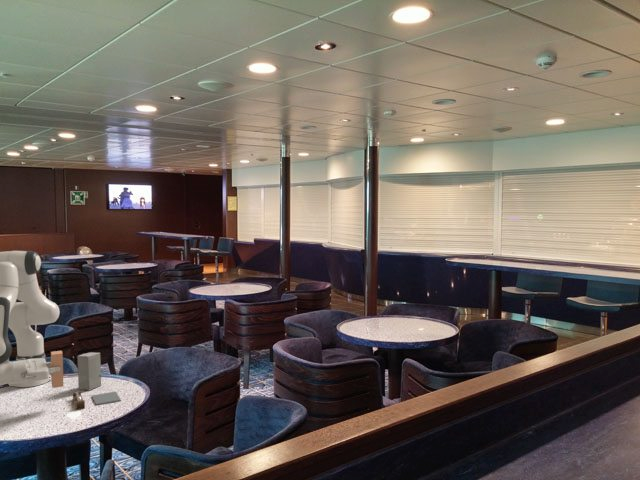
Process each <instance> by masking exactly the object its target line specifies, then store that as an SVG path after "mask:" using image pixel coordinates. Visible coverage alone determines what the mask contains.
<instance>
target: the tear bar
mask: <svg viewBox="0 0 640 480" xmlns="http://www.w3.org/2000/svg"><path fill="white" fill-rule="evenodd" d="M72 400H73V403H74V406H75V409H76V410H83V409H85V406H86V405H85V403H86V402H85V400H84V399H83V397H82V392H81V390H80V391H74V392H72Z"/></svg>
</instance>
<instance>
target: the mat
mask: <svg viewBox="0 0 640 480" xmlns="http://www.w3.org/2000/svg"><path fill="white" fill-rule="evenodd" d="M91 398H92V400H93V403H94V404H95V406H99V405H100V406H101V405H106V404H111V403H117V402H121V398H120V396H119V395H118V393H117V391H111V392H110V391H109V392H105V393H99V394H93V395H91Z"/></svg>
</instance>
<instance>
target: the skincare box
mask: <svg viewBox="0 0 640 480" xmlns="http://www.w3.org/2000/svg"><path fill="white" fill-rule="evenodd" d="M76 357H77V358H76V359H77V377H78V381H77V382H78V383H77V384H78V390H84V391H91V390H93V389H95V388H98V387H100V386H102V368H101V367H102V366H101V352H94V351H93V352H92V351H91V352H87V353H82V354H79V355H77V356H76Z"/></svg>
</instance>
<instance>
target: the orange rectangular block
mask: <svg viewBox="0 0 640 480" xmlns="http://www.w3.org/2000/svg"><path fill="white" fill-rule="evenodd" d="M63 356H64V355H63V351H62V350H57V351H56V350H53V351H50V362H51V367H50V368H53V367H55V366H60V371H57V372H54V373H51V374H50V375H51V379H52V380H51V387H52V388H53V389H56V388H62V387H64V359H63V358H64V357H63Z"/></svg>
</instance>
